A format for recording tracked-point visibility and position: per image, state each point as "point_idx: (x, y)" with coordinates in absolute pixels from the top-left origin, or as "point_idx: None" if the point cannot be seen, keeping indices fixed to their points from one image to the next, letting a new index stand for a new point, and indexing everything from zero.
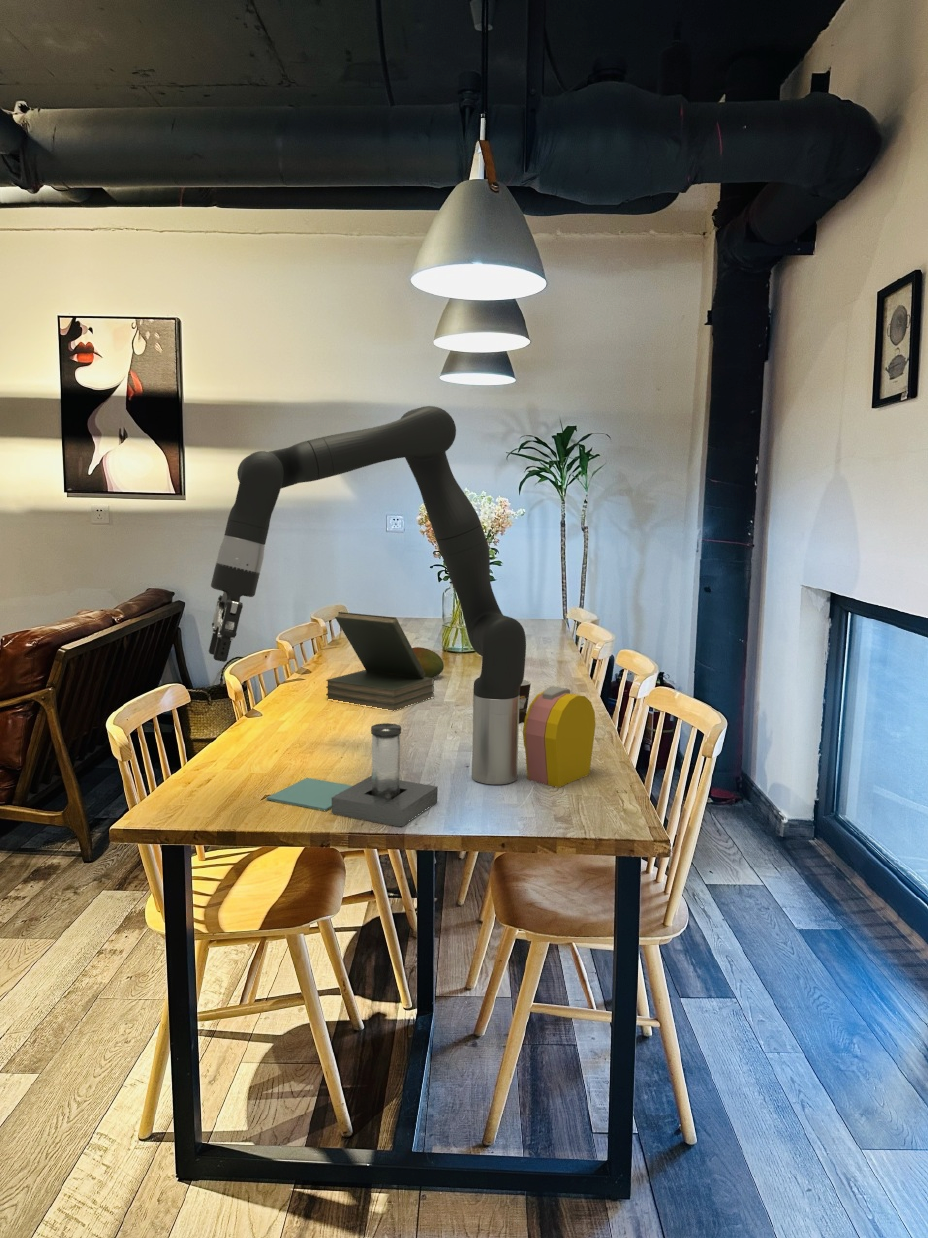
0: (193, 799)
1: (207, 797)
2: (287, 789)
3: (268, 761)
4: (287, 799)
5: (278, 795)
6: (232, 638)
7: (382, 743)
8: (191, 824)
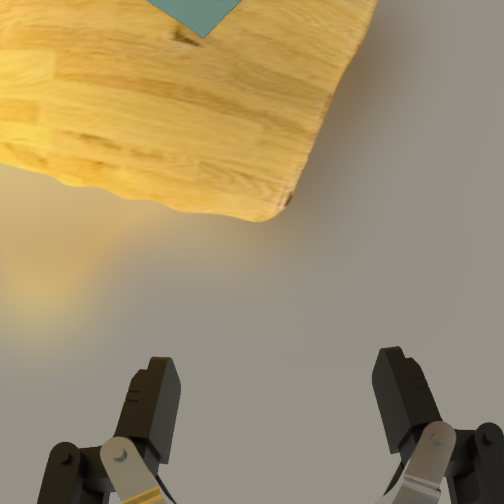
0: (176, 150)
1: (169, 131)
2: (166, 3)
3: (4, 63)
4: (224, 3)
5: (197, 17)
6: (450, 428)
7: None
8: (288, 150)
